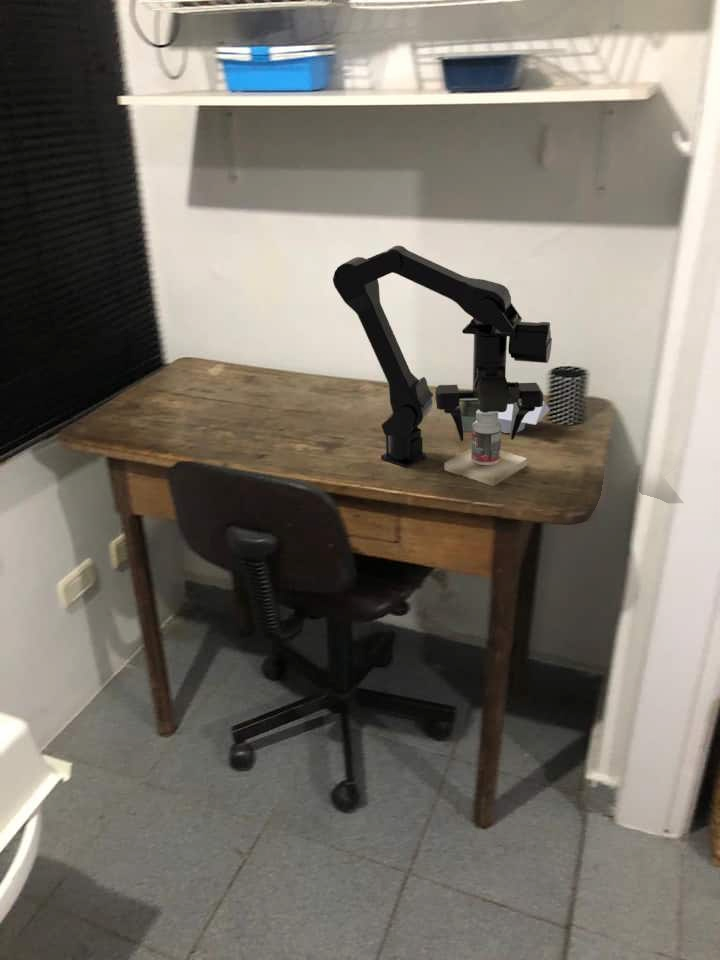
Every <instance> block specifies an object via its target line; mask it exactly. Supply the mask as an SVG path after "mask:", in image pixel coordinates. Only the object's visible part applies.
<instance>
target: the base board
mask: <svg viewBox="0 0 720 960" xmlns="http://www.w3.org/2000/svg"><path fill="white" fill-rule="evenodd" d="M443 464H444V470H443V471H446V472H449V473H452V474H455V475H458V476H461V475H462V476H461V477H464V478H467V477H468V478H467V479H471V480H473V479H474V481H476V480H477V482H479V483H482V482H483V484H486V485H489V486H492V487H495V486H497V485H498V484H499V483H501V482H503V481H504V480H506V479H508V478H509V477H511V476H513V475H514V474H515V473H518V472H519V471H521V470H522V469H525V467H527V466H528V458H526V457H524V456H520V455H517V454H514V453H510V452H507V451H503V450H500V461H499V462H498V463H497V464H494V465H489V466H485V465H478V464H476V463H474V462H473V461H472V460H471V447H470V448H469V449H467V450H465V451H463V452H462V453H460V454H458V455H456V456H454V457H452V458H450V459H448V460H446V461H445V462H444V463H443Z"/></svg>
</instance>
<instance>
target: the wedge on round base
mask: <svg viewBox="0 0 720 960" xmlns="http://www.w3.org/2000/svg"><path fill="white" fill-rule="evenodd" d="M550 411H551V409H550V408H549V406H548V405H547V403H546V402H545V401H544V400H543V406H542V407H535V410H534V411H529V412H528V413H527V414H526V415H525V416H524V418H523V420H522V421H521V423H520V426H519V428H518V430H517V433H518V432H519V433H520V432H521V431H523V430H524V429H525V427H526V424H529V425H537V424H538V423H539V422H540V421H541V420H542V419H543V418H544V417H545V416H546V414H547V415H548V413H549V412H550ZM512 413H513V404H507V410H506V411H505V412H498V420H497V421H498V422H500V424H501V426H502V429H501V432H504V433H509V434H510V429H511V421H512ZM509 434H508V435H509Z"/></svg>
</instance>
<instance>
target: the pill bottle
mask: <svg viewBox="0 0 720 960" xmlns="http://www.w3.org/2000/svg"><path fill="white" fill-rule="evenodd" d="M475 419H476V420H475V421H474V422H472V425H471V447H470V448H471V460H472V461H473V462H474V463H476V464H478V465H485V466H489V465H494V464H497V463H498V462H499V461H500V451H502V450H501V447H502V446H501V445H502V434H501V429H502V426H501V424H500V422H498V421H497V420H498V412H488V413H483V412H481V411H480V410H479V408H478V409H477V410H476V411H475Z"/></svg>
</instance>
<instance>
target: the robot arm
mask: <svg viewBox="0 0 720 960" xmlns="http://www.w3.org/2000/svg"><path fill="white" fill-rule="evenodd" d="M392 273H393V274H395V275H398V276H400V277H403V278H405V279H406V280H409V281H411V282H413V283H415V284H417V285H420V286H422V287H423V288H426V289H428V290H430V291H432V292H435V293H437V294H439V295H440V296H443V297H445V298H448V299H449V300H451V301H453V302H454V303H456V304H457V305H458V307H460V308H461V309H462V311H464V312H465V313H466V314H468V315H469V316H470V317H472V319H470V322H469V323H467V324H466V325H465V327H464V328H462V331H461V332H462V334H465V335H473V355H472V356H473V358H472V359H473V360H472V363H473V365H472V390H459V386H458V384H439V385H437V386H436V388H435V403H436V409H437V410H441V411H442V410H443V412H444V413H445V414H450V415H451V417H452V419H453V421H454V424H455V426H456V429H457V432H458V436H459V439H460V442H463V441H464V429H463V420H462V410H461V406H460V402H477V403H478V409H479V410H480V411H481V412H483V413H488V412H505V411H506V410H507V404H513V413H512V421H511V429H510V440H512V441H514V440H515V438H516V435H517V433H518V432H517V430H518V428H519V426H520V423H521V421H522V420H523V418H524V416H525V415H526V414H527V413H528V412H529V411H534V410H535V407H542V406H543V401H544V392H543V390H542V389H541V387H540V386H539V384H538V383H537V382H518V381H516V382H510V381H508V380H507V377H506V373H507V372H506V369H507V367H506V366H507V351H508V355H510V358H511V359H512V358H513V359H514V361H516V362H528V363H541V364H548V363H549V362H550V357H551V351H552V345H553V344H552V342H553V338H552V334H551V333H552V330H551V323H550V322H549V321H540V322H529V321H522V320H523V318H522V316H521V315H520V313H519V312H518V311H517V309H516V307H515V306H514V305H513V303H512V296H511V294H510V290H509V289H508V288H507V287H506V286H505V285H503V284H502V283H498V282H494V281H491V280H486V279H482V278H475V277H474V278H472V277H469V276H464V275H462V274H459V273H458V272H456V271H453V270H451V269H449V268H447V267H445V266H442V265H441V264H438V263H436V262H433V261H432V260H429V259H427V258H425V257H423V256H422V255H418V254H417V253H415V252H413V251H410V250H408V249H407V248H406V247H404V246H402V245H394V246H392V247H391V248H389V249H387V250H385V251H383V252H380V253H377V254H375V255H373V256H371V257H368V258H365V257H362V256H360V257H359V256H358V257H357V256H356V257H354V258H351V259H350V260H347V261H346V262H344V263H342V264H340V265H339V266H338V267H337V268H336V269H335V270H334V274H333V276H332V283H333V285H334V289H336V291H337V293H338V294H339V295H340V297H341V299H342V300H343V302H344V303H345V304H346V306H348V307H349V308H350V309H351V310H352V311H353V312H354V313H355V314H356V315H357V317H358V320H359V321H360V324H361V326H362V328H363V331H364V332H365V334H366V335H365V336H366V337H367V339H368V341H369V343H370V346H371V349H372V351H373V352H374V355H375V357H376V359H377V361H378V364H379V365H380V369H381V370H382V373H383V374H384V376H385V379H386V381H387V383H388V392H389V393H388V394H389V395H388V396H389V403H390V407H391V411H392V413H390V415H389V416H388V417H387V418H386V420H385V421H384V422H382V424H381V428H382V431H383V433H384V436H385V445H386V446H385V450H386V451H385V452H386V453H384V454H381V456H380V459H381V460H384V461H387V462H390V463H393V464H396V465H399V466H402V467H408V466H410V465H413V464H414V463H417V462H418V461H419V460H422V459H424V458H425V457H427V453H426V452H423V437H422V429H421V428H419V427H418V426H419V425H420V424H421V423H422V422H423V420H425V418H426V417H427V415H428V414H429V413H430V412H431V409H432V407H433V397H434V393H433V392H432V391H431V390H430V388H429V385H428V382H427V381H428V380H427V379H426V377H425V376H423V377H421V378H420V379H418V377H416V376H415V375H414V374H413V373H412V372H411V370H410V367H409V365H408V362H407V361H406V358H405V356H404V353H403V351H402V349H401V347H400V344H399V342H398V340H397V337H396V335H395V334H394V331H393V328H392V326H391V324H390V322H389V320H388V317H387V315H386V313H385V310H384V308H383V306H382V304H381V298H380V283H379V280H380V279H381V278H382V277H385V276H387V275H390V274H392ZM508 337H509V338H508Z"/></svg>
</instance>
